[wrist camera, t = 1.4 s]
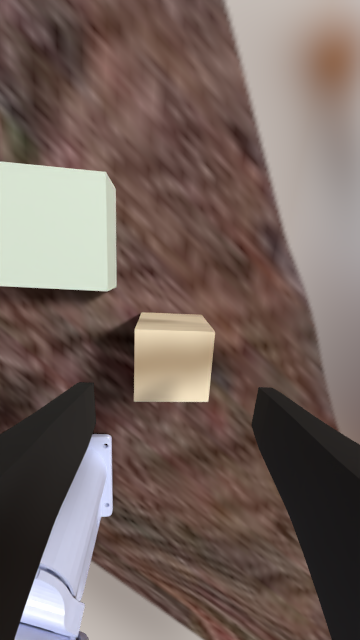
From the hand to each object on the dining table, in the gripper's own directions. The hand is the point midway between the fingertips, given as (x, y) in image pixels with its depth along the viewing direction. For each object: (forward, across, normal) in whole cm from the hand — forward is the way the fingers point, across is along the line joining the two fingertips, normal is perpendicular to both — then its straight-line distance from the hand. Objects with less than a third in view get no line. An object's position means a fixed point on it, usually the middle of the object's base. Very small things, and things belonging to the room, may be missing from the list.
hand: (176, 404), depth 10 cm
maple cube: (+10, 0, +1) cm, 10 cm away
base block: (+10, +8, -7) cm, 14 cm away
